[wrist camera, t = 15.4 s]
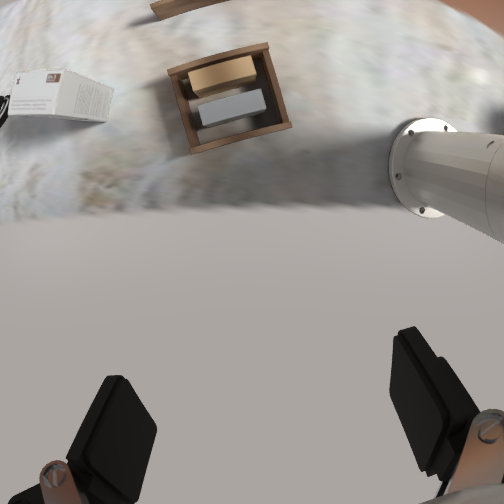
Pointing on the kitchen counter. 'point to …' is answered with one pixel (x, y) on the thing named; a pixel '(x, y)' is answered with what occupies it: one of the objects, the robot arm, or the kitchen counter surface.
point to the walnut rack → (177, 3)
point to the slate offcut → (232, 108)
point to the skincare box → (59, 96)
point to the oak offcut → (223, 76)
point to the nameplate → (4, 109)
